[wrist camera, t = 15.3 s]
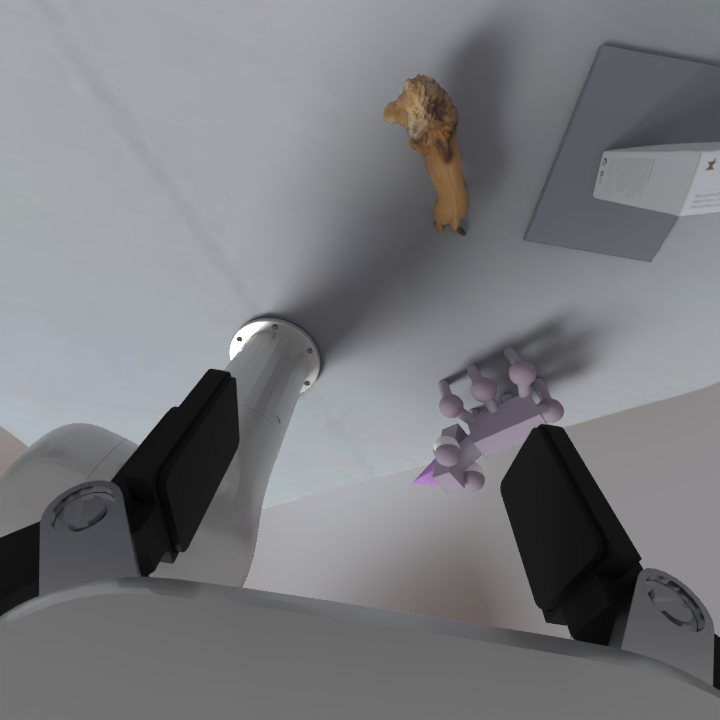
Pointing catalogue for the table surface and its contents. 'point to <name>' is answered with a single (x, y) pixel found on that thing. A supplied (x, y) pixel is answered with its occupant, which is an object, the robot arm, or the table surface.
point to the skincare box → (663, 178)
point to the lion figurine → (434, 144)
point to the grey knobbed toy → (487, 425)
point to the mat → (618, 131)
